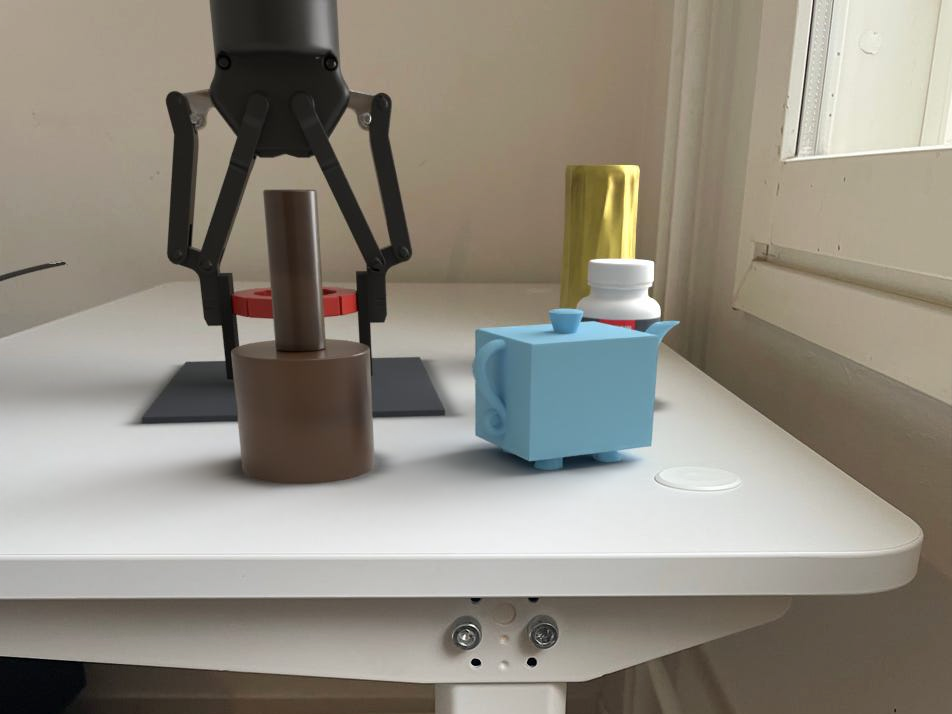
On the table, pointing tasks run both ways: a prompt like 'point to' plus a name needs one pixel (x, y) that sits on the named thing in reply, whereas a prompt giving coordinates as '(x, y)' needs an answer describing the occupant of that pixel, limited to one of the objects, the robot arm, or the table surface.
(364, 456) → the ring holder
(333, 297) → the ring
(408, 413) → the mat
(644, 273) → the pill bottle
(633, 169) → the vase
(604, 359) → the teapot
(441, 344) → the table surface
